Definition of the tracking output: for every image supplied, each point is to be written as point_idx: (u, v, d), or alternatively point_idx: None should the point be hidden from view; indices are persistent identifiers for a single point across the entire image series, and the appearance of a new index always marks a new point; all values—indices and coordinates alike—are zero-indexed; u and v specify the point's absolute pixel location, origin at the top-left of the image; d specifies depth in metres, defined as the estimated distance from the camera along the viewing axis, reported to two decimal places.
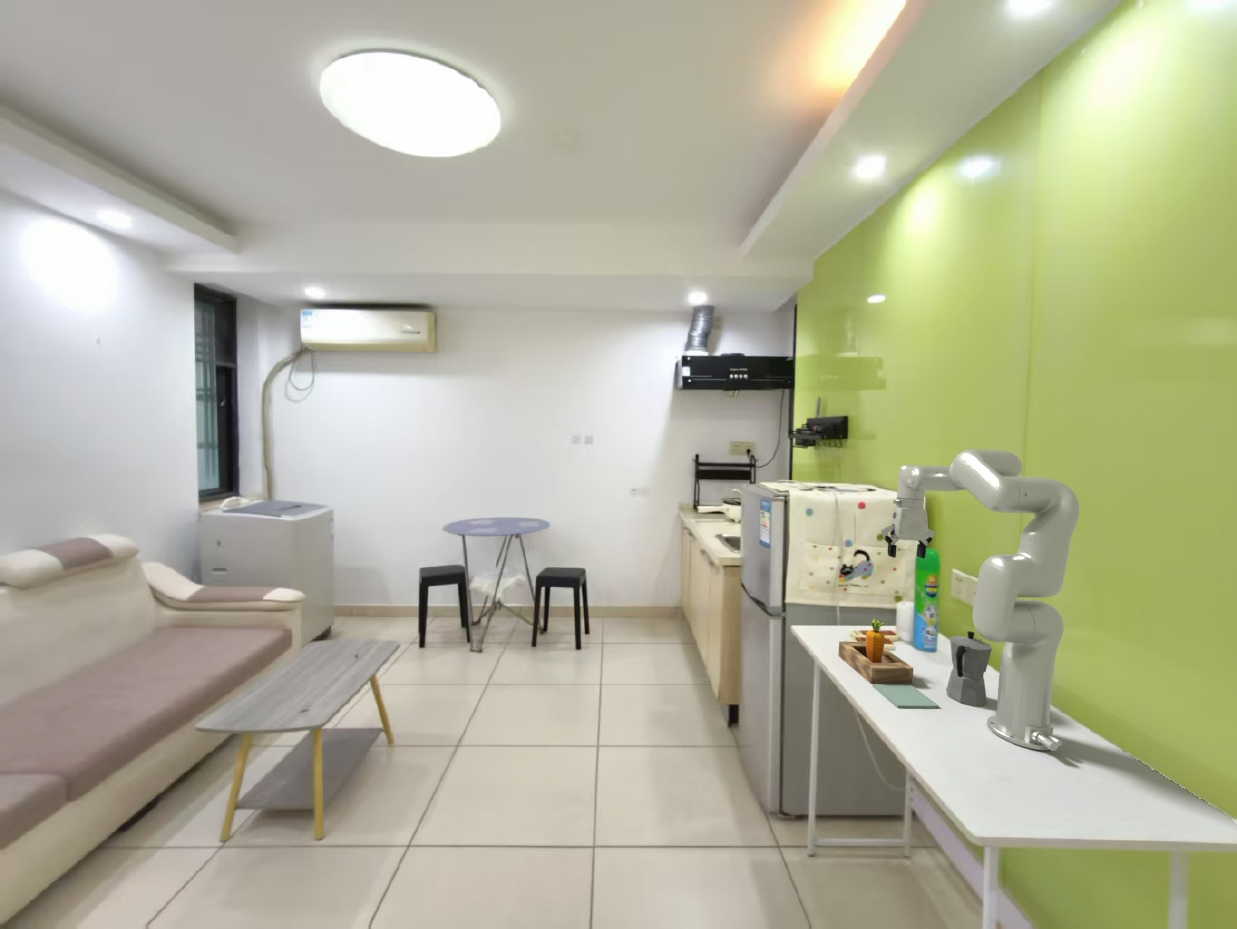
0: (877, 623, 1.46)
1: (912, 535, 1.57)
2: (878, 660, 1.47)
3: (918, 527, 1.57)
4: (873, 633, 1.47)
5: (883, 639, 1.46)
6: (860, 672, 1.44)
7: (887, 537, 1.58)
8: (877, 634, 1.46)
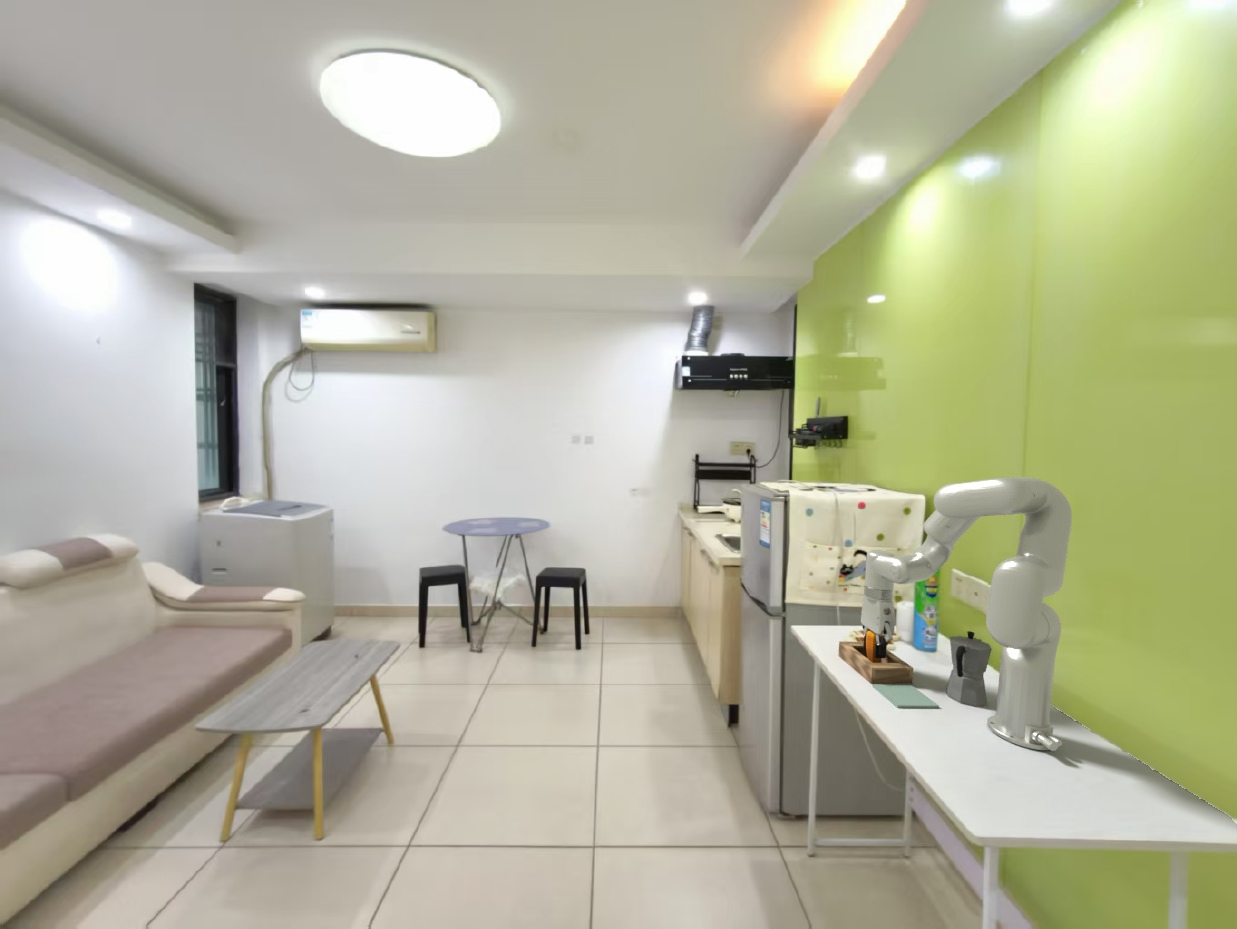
0: None
1: None
2: (878, 660, 1.47)
3: None
4: (873, 633, 1.47)
5: None
6: (860, 672, 1.44)
7: None
8: None
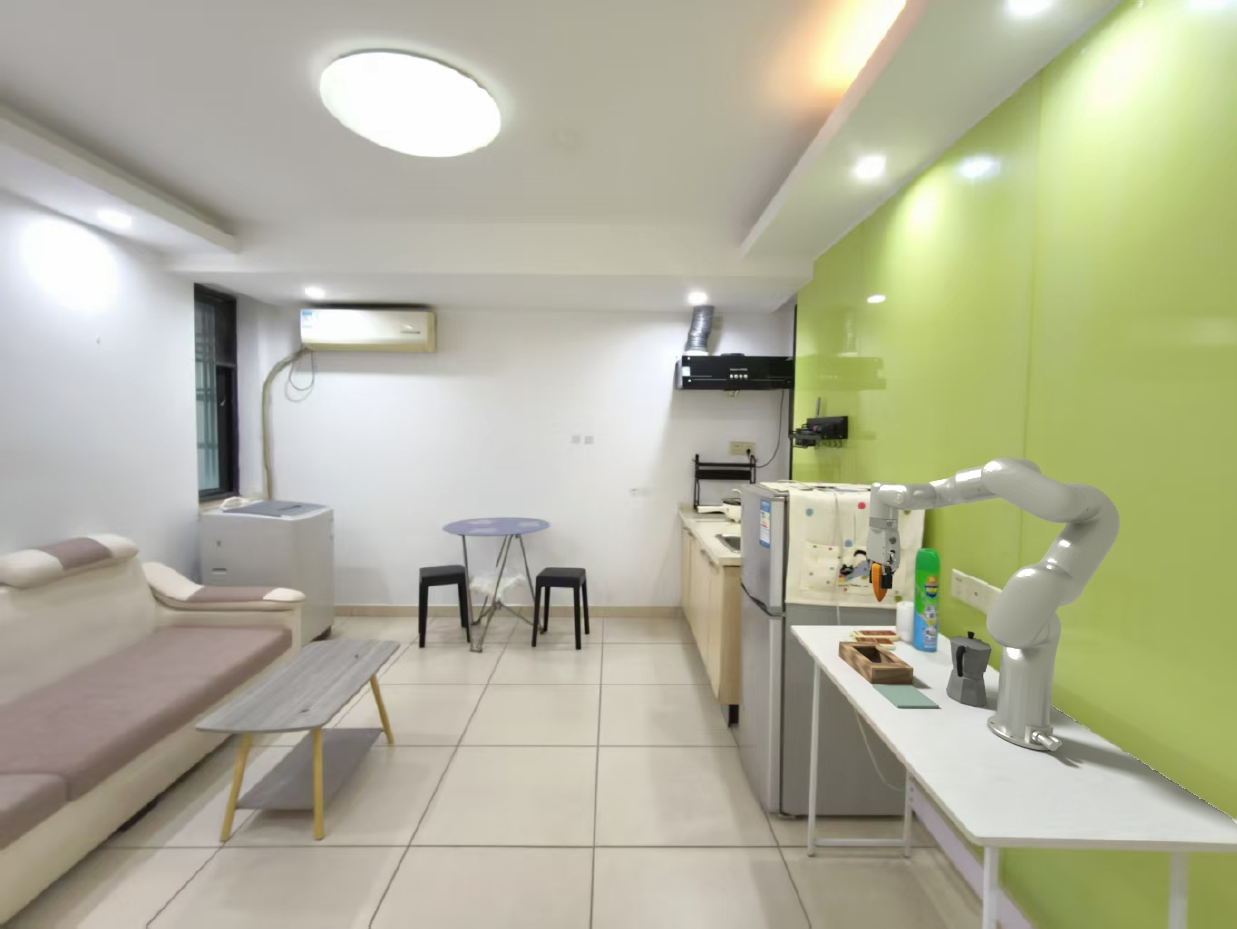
0: None
1: None
2: (884, 592, 1.45)
3: None
4: (879, 564, 1.46)
5: None
6: (860, 672, 1.44)
7: None
8: None
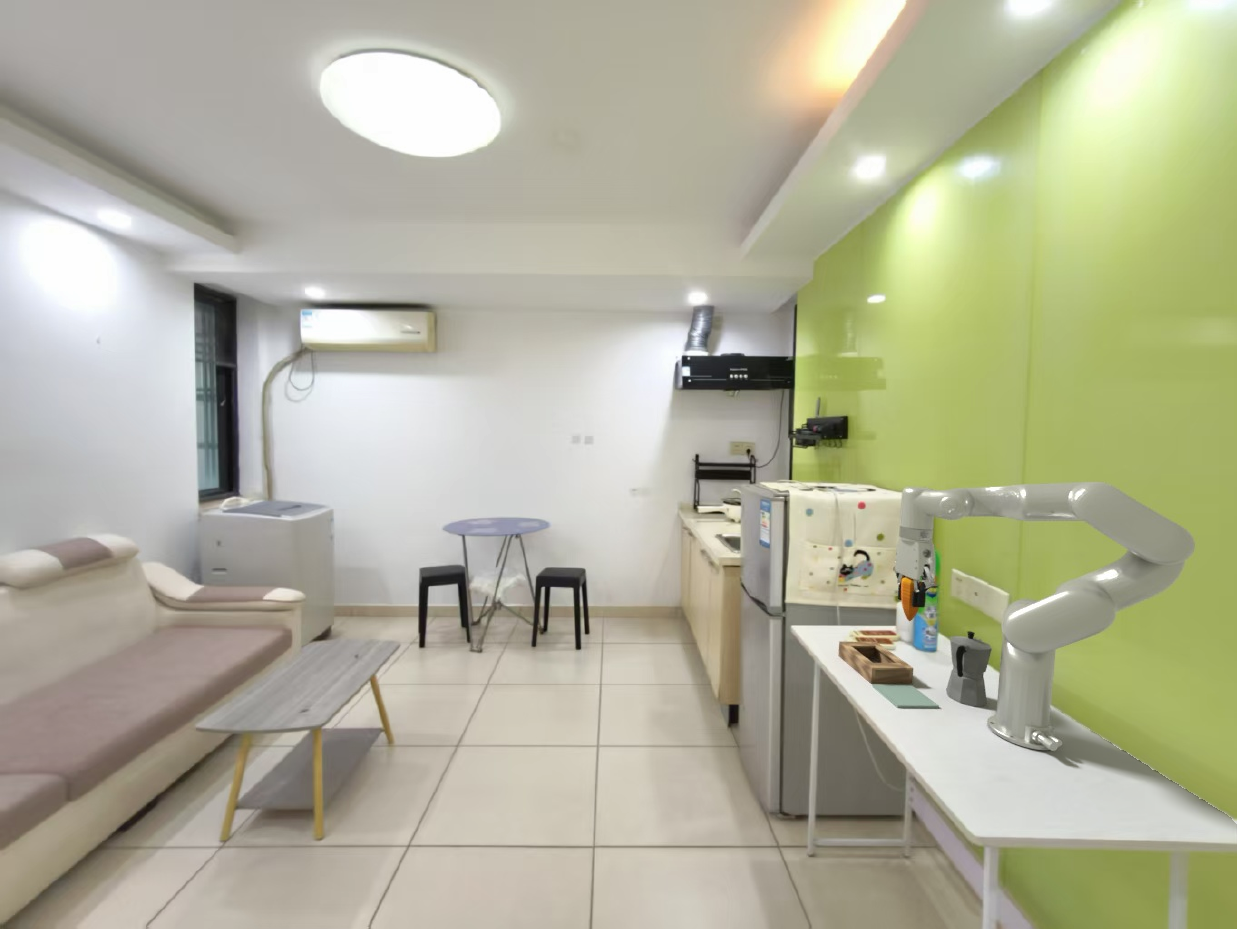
0: None
1: None
2: (915, 610, 1.30)
3: None
4: (910, 579, 1.30)
5: None
6: (860, 672, 1.44)
7: None
8: None
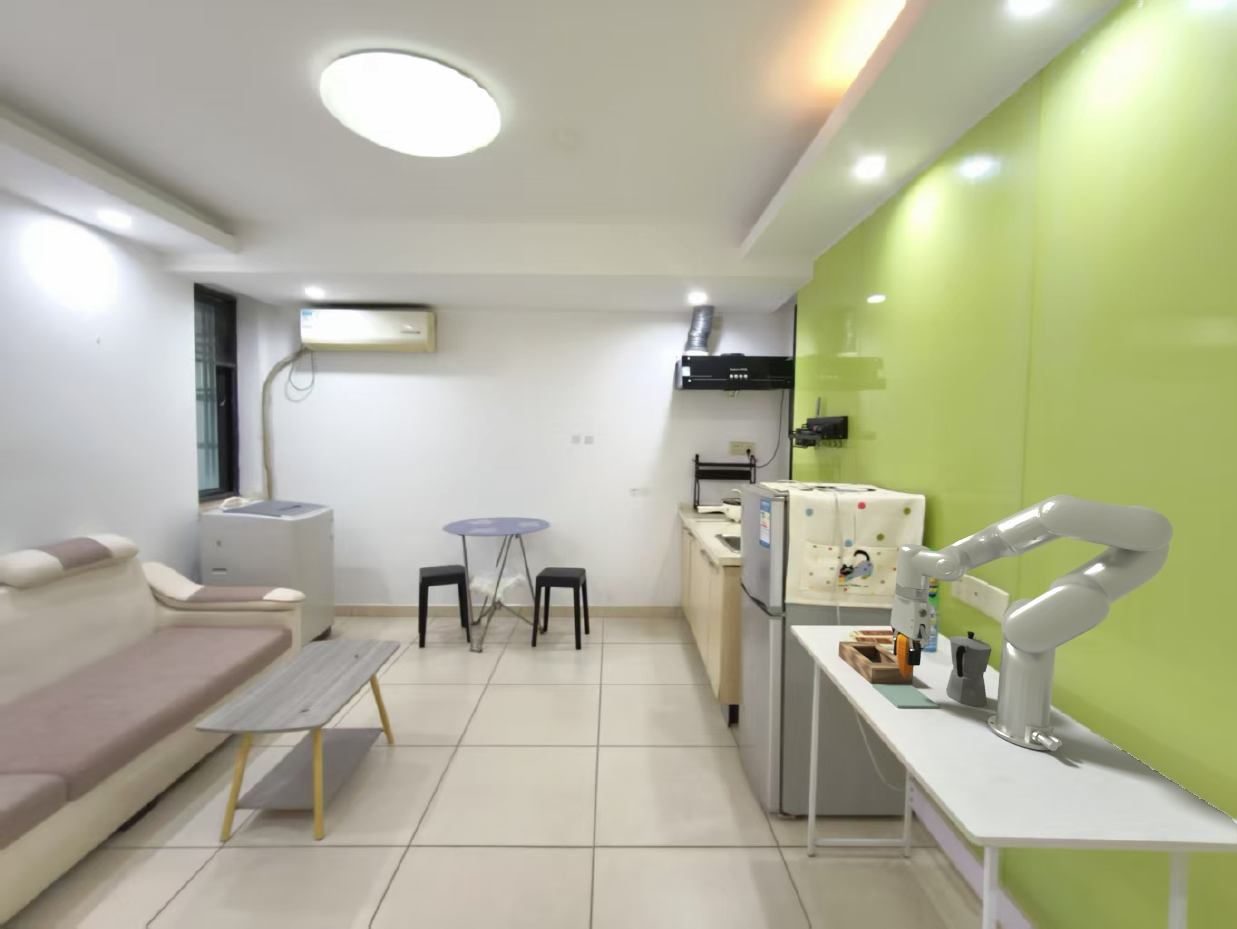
0: None
1: None
2: (911, 667, 1.30)
3: None
4: (905, 637, 1.31)
5: None
6: (860, 672, 1.44)
7: None
8: None
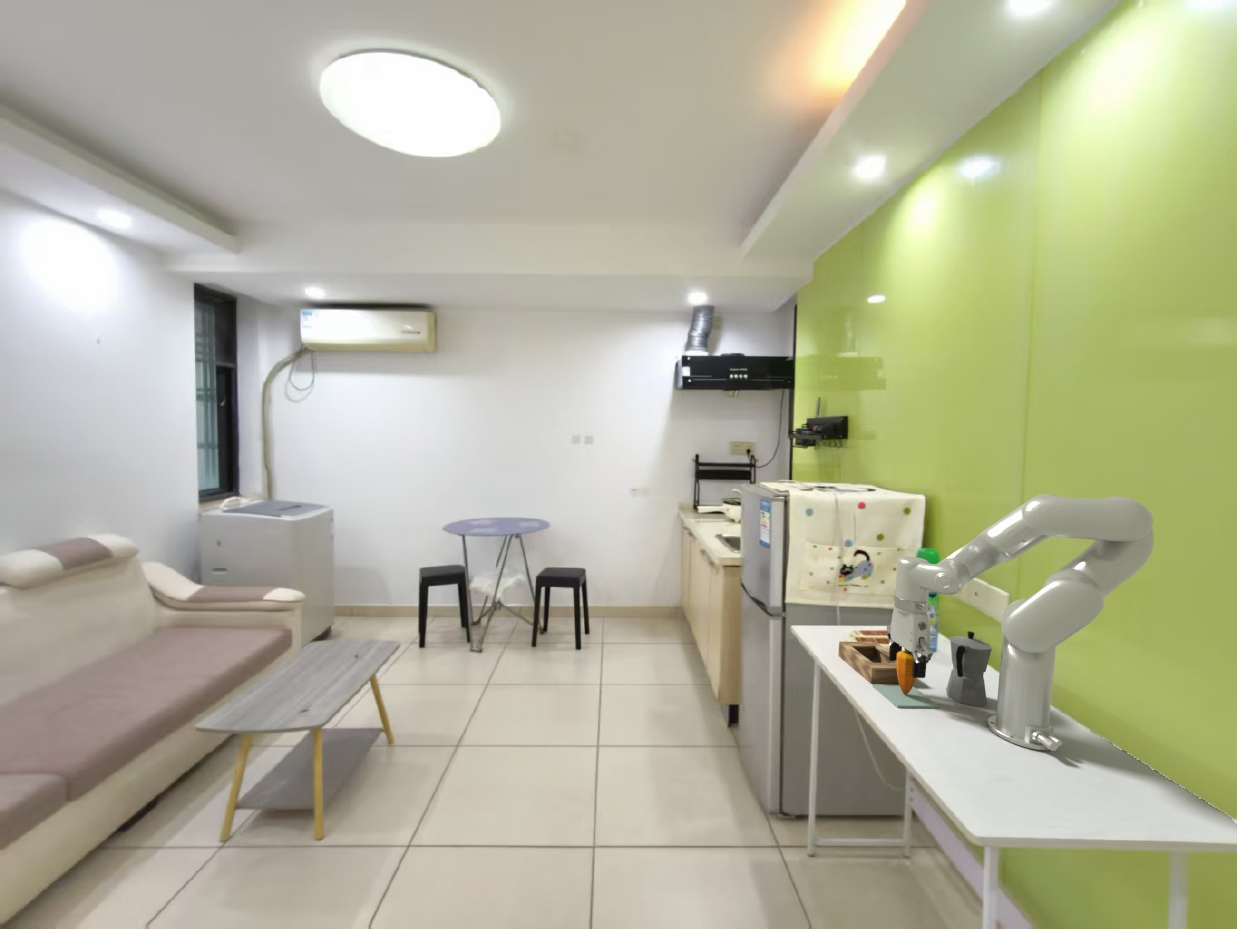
0: None
1: None
2: (911, 685, 1.30)
3: None
4: (905, 655, 1.31)
5: None
6: (860, 672, 1.44)
7: None
8: (910, 656, 1.30)
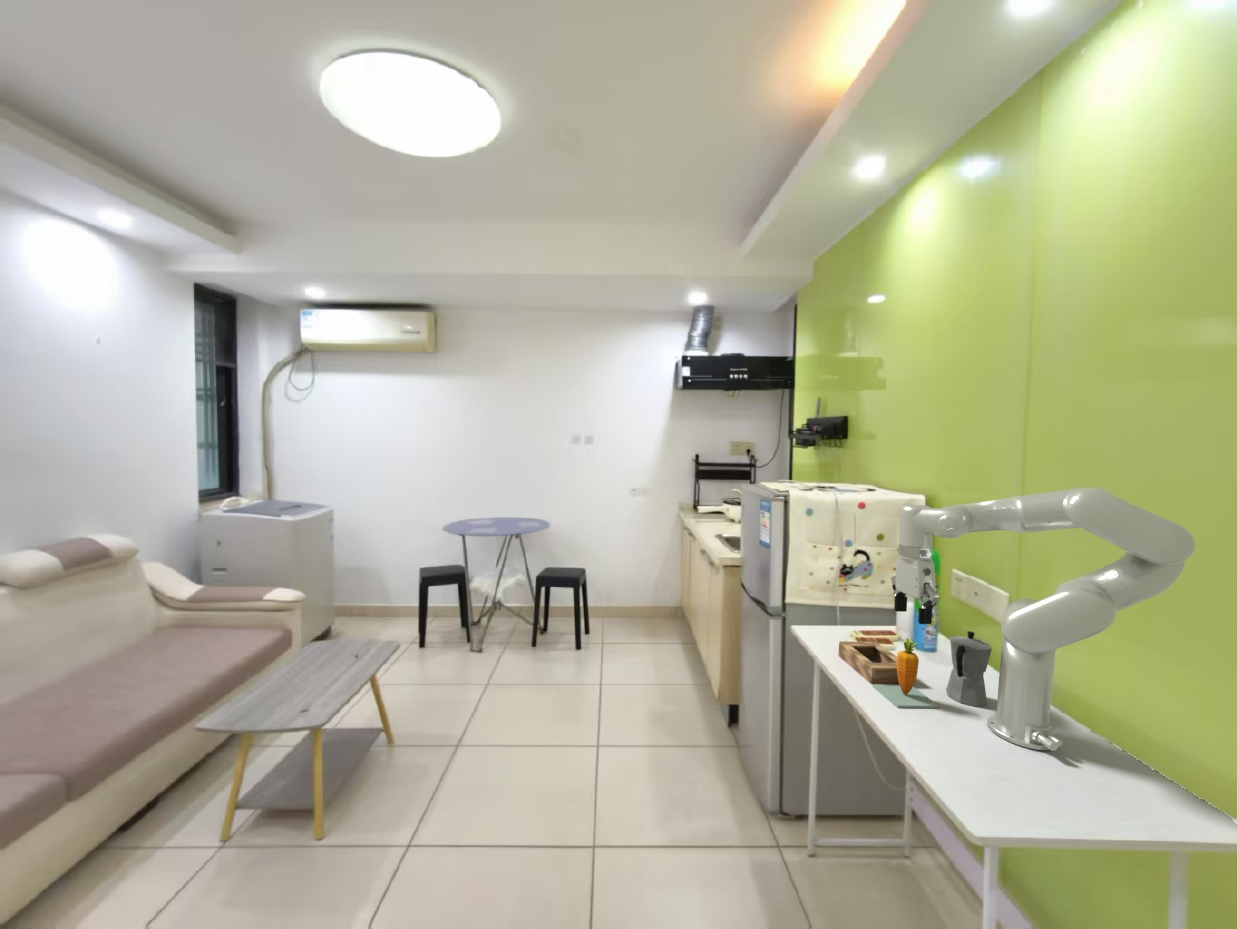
0: (910, 643, 1.30)
1: None
2: (911, 685, 1.30)
3: None
4: (905, 654, 1.31)
5: (917, 661, 1.30)
6: (860, 672, 1.44)
7: None
8: (910, 656, 1.30)
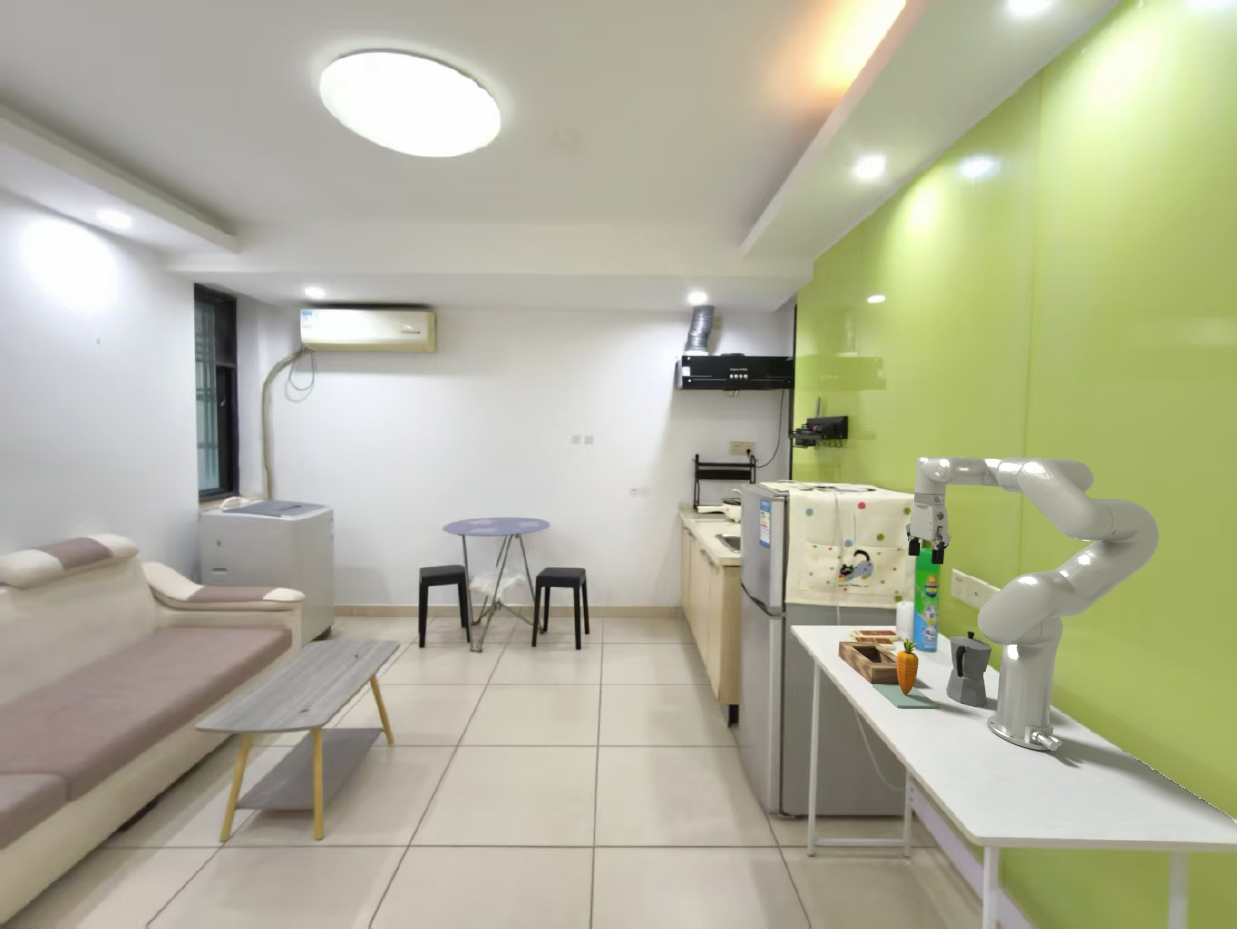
0: (910, 643, 1.30)
1: None
2: (911, 685, 1.30)
3: None
4: (905, 654, 1.31)
5: (917, 661, 1.30)
6: (860, 672, 1.44)
7: None
8: (910, 656, 1.30)
